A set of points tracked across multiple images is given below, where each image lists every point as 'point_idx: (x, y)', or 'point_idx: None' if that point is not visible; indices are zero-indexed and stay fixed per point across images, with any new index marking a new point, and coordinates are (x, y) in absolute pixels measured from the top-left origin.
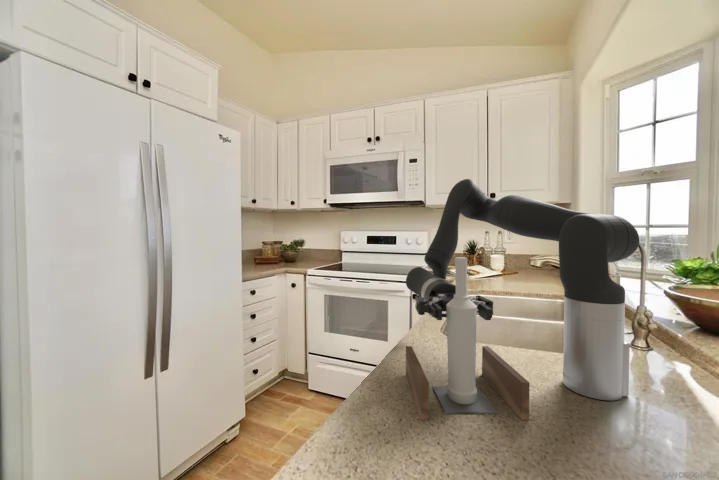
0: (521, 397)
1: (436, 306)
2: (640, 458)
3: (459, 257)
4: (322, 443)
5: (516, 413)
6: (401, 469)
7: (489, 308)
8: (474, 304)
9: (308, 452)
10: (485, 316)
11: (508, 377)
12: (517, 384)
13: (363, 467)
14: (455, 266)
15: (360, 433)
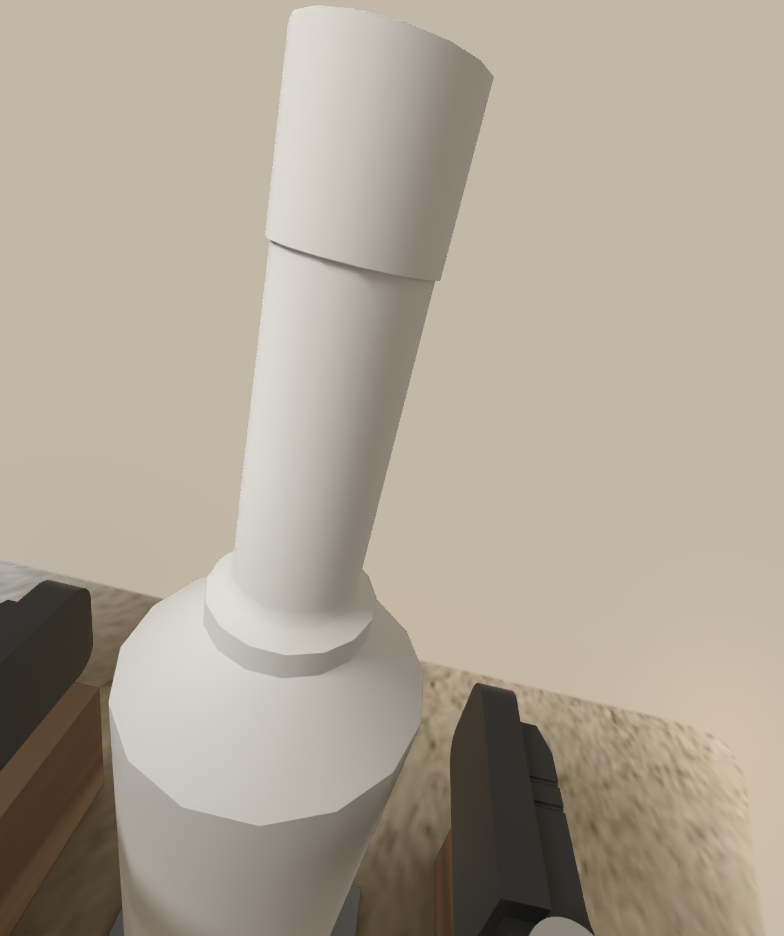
0: (98, 732)
1: (521, 745)
2: (2, 595)
3: (398, 36)
4: (726, 813)
5: (80, 819)
6: (525, 693)
7: (51, 584)
8: (192, 585)
9: (738, 786)
10: (71, 661)
11: (11, 833)
12: (77, 736)
13: (600, 715)
14: (446, 250)
15: (646, 835)
